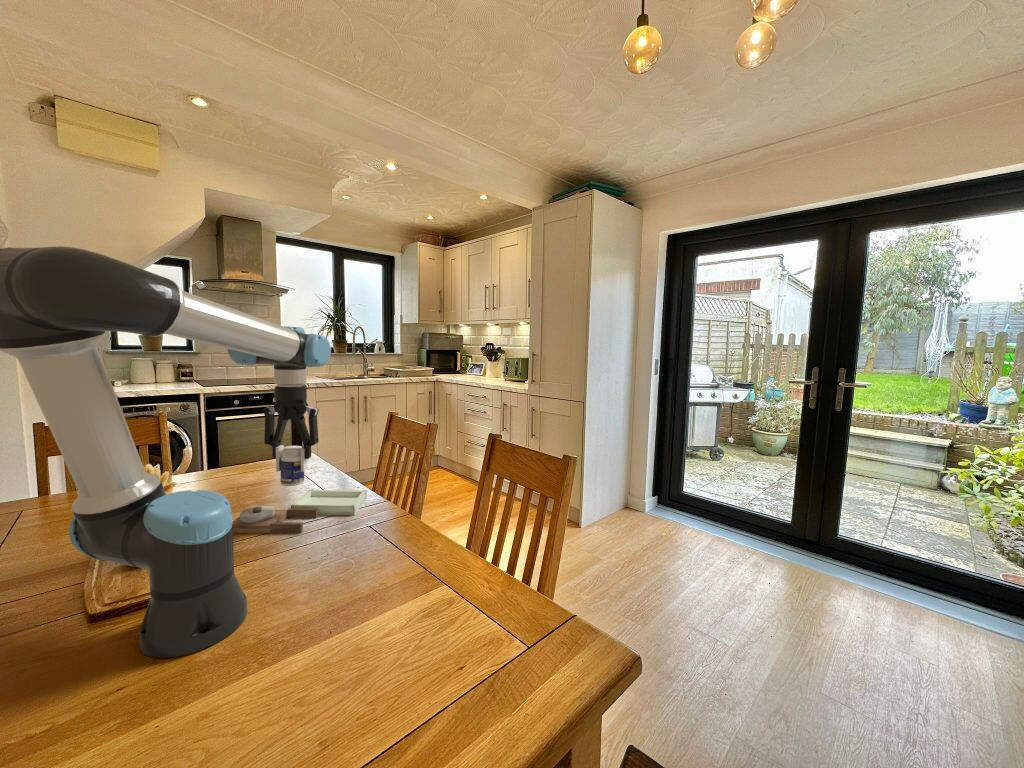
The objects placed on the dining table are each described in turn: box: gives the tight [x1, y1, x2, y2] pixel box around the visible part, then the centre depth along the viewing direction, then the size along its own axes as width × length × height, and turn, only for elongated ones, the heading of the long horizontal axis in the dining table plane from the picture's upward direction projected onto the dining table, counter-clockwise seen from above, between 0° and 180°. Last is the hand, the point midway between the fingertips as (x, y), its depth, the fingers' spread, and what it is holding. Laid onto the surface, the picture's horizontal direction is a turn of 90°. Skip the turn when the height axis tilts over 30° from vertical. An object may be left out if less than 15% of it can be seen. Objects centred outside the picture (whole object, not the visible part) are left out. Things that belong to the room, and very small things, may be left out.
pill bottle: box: [280, 445, 305, 487], centre depth 110 cm, size 6×6×10 cm
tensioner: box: [233, 505, 319, 534], centre depth 112 cm, size 10×19×5 cm, turn 92°
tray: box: [290, 489, 368, 517], centre depth 124 cm, size 12×18×3 cm, turn 92°
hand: (292, 469), depth 110 cm, fingers closed on pill bottle, 6 cm apart
